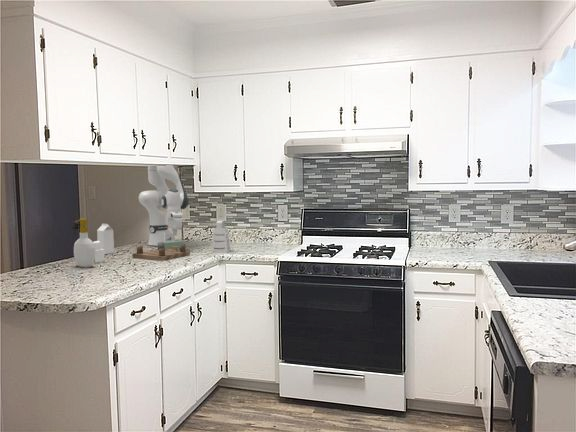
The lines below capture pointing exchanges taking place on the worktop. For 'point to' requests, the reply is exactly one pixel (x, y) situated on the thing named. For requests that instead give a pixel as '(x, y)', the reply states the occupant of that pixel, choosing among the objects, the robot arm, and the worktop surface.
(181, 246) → the stool seat
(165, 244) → the hinged leg
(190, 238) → the worktop surface
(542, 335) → the worktop surface
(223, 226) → the grey tiered tower
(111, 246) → the milk carton
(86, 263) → the soap bottle
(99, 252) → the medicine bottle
